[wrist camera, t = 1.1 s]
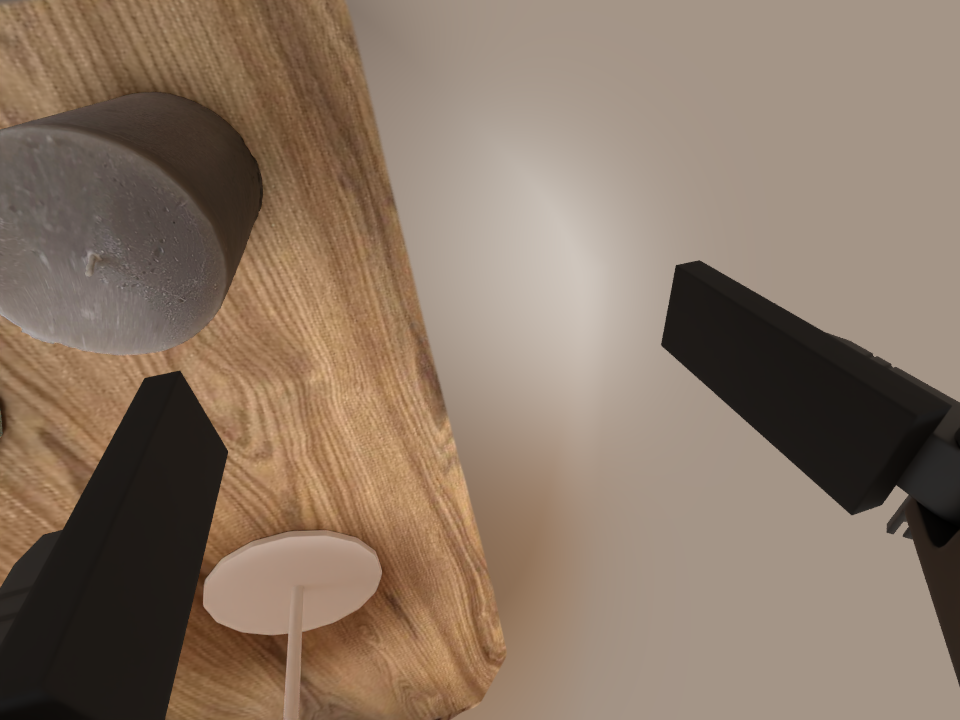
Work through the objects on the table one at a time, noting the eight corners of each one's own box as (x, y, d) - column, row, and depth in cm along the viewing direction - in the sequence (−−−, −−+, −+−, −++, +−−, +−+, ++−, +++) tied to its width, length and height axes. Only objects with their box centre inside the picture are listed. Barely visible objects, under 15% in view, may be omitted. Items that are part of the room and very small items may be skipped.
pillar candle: (289, 162, 30) (268, 238, 18) (223, 276, 33) (166, 405, 21) (121, 48, 25) (-61, 52, 13) (58, 195, 28) (-137, 306, 16)
